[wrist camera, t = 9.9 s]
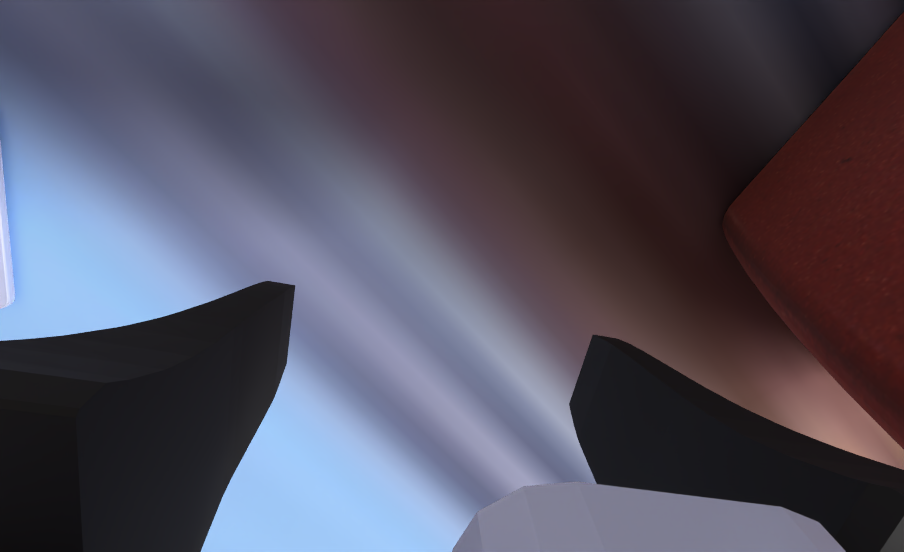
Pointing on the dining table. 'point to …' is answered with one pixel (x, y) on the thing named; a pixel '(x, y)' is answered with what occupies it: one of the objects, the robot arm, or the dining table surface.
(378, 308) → the dining table surface
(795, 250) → the plant pot
